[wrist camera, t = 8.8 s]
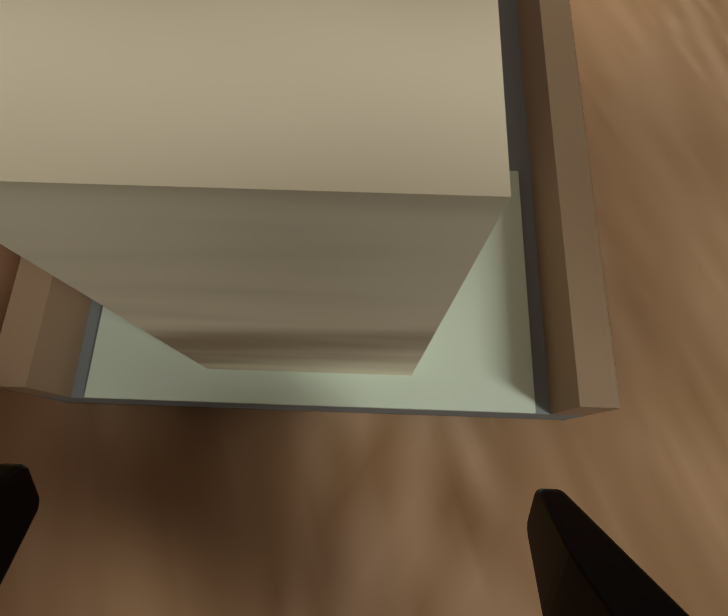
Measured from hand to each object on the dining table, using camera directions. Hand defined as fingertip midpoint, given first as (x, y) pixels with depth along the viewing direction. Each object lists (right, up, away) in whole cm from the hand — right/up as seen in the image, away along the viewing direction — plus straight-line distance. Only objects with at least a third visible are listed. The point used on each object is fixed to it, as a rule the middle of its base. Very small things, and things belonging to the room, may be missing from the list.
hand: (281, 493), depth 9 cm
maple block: (0, +4, +7) cm, 8 cm away
